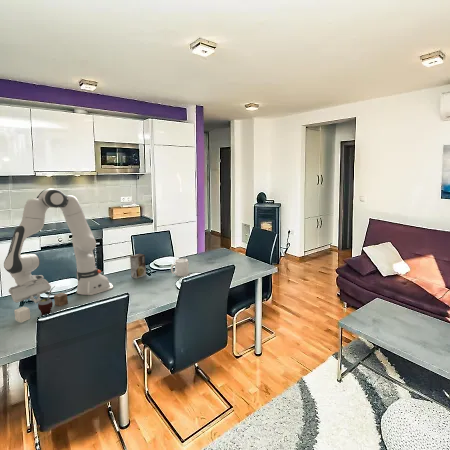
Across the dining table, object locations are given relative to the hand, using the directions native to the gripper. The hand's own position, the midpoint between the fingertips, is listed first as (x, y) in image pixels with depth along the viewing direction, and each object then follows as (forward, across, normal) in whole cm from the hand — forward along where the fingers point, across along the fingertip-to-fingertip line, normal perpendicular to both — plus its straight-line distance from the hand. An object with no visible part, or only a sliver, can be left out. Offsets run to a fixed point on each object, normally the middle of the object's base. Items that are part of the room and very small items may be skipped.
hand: (38, 301), depth 180 cm
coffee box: (+10, +69, -4) cm, 70 cm away
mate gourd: (+9, 0, -2) cm, 9 cm away
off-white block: (+6, -11, +1) cm, 12 cm away
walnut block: (+6, +11, +1) cm, 13 cm away
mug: (+28, +87, -21) cm, 94 cm away
